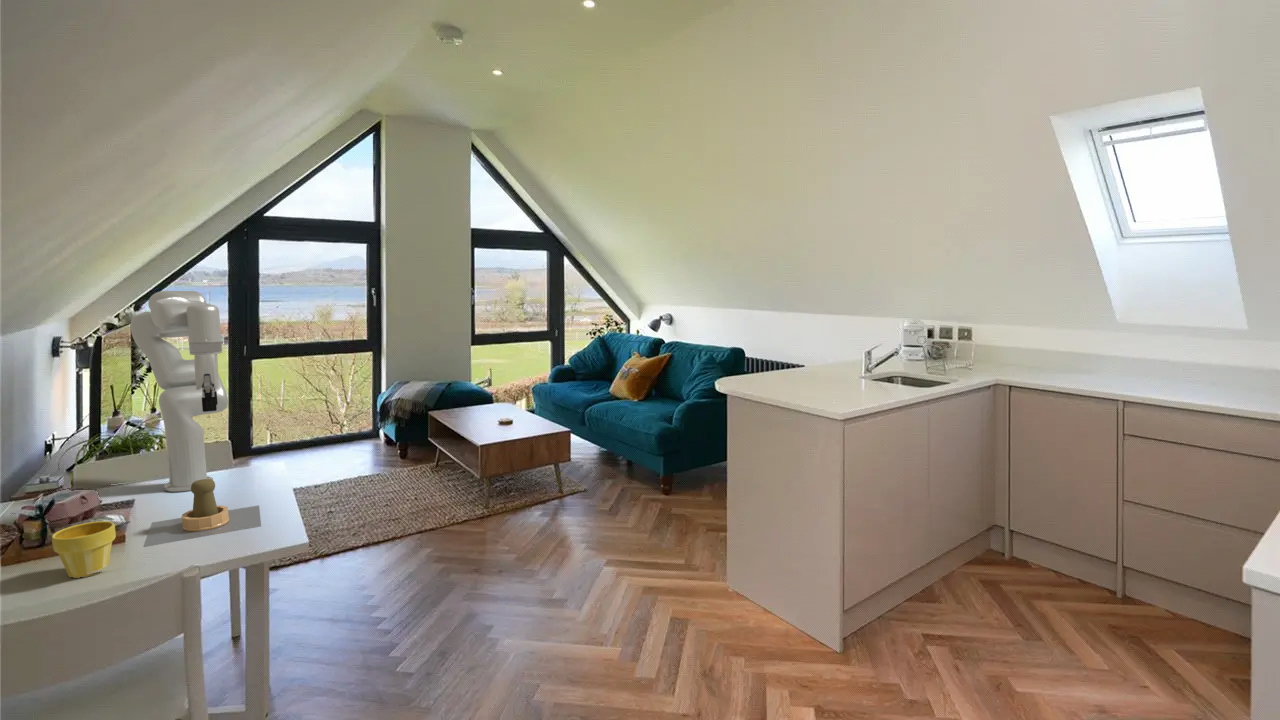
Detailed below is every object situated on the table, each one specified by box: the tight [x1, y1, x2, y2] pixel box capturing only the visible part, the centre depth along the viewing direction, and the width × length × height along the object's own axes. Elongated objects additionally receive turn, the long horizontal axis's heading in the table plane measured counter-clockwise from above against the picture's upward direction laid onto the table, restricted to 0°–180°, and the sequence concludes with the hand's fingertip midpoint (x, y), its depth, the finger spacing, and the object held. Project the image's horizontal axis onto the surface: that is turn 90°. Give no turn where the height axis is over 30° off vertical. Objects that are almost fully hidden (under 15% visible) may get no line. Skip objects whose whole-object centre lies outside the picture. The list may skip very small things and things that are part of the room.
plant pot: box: [51, 520, 117, 579], centre depth 136 cm, size 10×10×10 cm
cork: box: [190, 479, 218, 518], centre depth 161 cm, size 6×6×11 cm
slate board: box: [143, 505, 262, 548], centre depth 161 cm, size 18×24×1 cm
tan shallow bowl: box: [181, 505, 229, 532], centre depth 161 cm, size 10×10×3 cm
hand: (210, 408), depth 175 cm, fingers open, 9 cm apart
